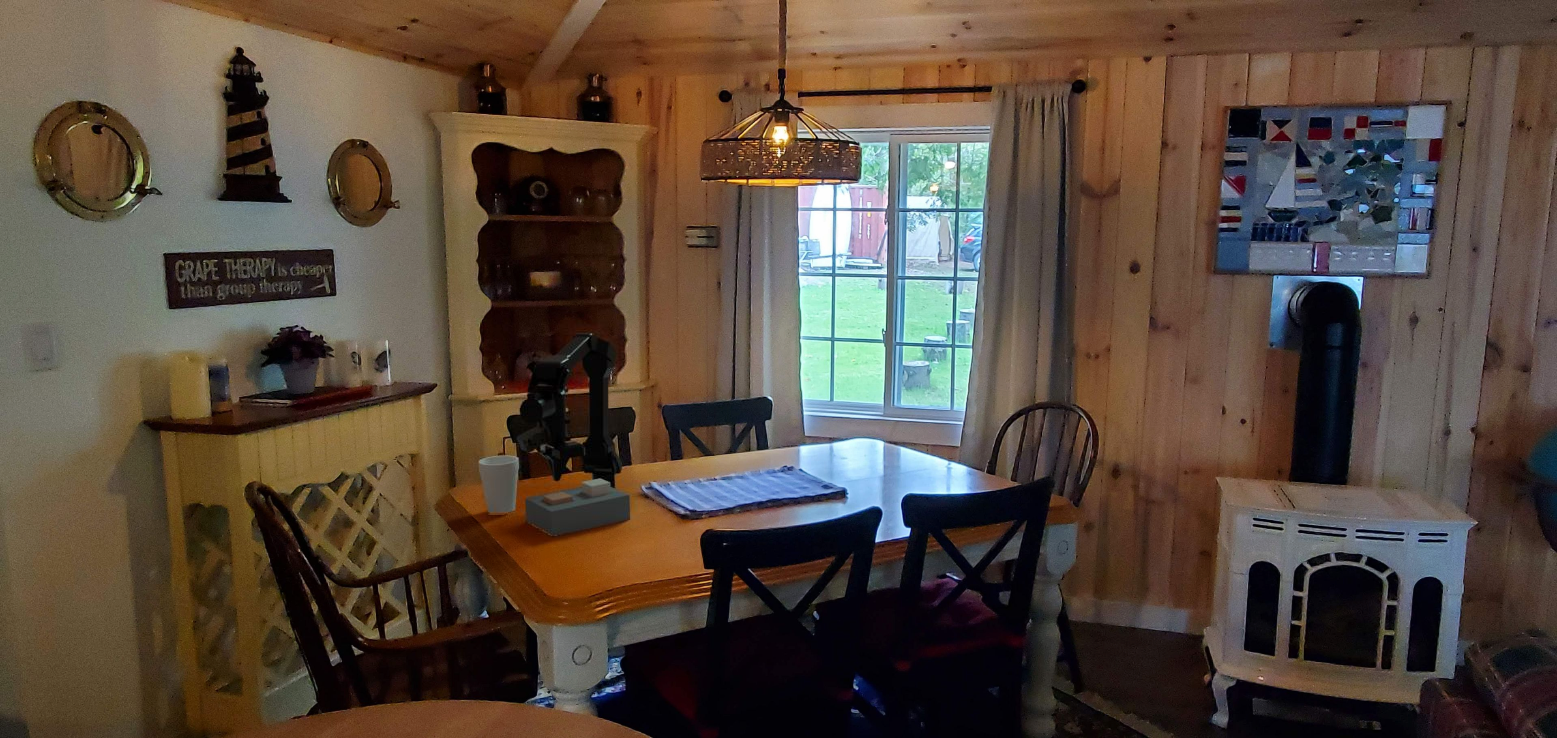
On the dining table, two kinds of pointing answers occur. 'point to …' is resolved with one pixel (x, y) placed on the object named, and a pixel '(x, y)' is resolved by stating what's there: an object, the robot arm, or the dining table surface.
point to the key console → (577, 511)
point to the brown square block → (557, 498)
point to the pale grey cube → (596, 487)
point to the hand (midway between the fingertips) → (556, 480)
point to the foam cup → (499, 482)
